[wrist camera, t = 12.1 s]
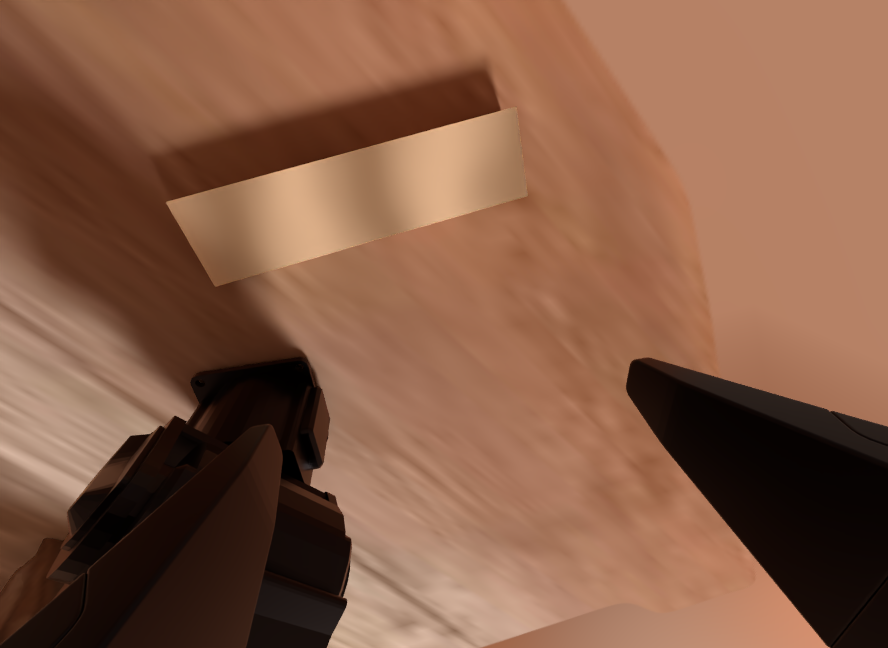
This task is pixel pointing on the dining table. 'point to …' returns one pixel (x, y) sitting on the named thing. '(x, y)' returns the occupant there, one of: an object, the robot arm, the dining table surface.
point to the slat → (354, 197)
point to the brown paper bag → (29, 589)
